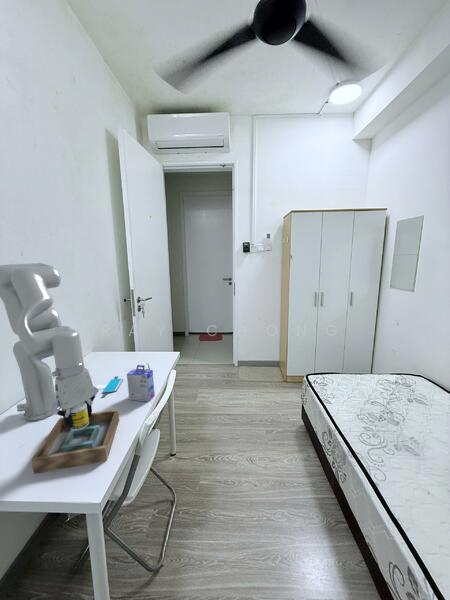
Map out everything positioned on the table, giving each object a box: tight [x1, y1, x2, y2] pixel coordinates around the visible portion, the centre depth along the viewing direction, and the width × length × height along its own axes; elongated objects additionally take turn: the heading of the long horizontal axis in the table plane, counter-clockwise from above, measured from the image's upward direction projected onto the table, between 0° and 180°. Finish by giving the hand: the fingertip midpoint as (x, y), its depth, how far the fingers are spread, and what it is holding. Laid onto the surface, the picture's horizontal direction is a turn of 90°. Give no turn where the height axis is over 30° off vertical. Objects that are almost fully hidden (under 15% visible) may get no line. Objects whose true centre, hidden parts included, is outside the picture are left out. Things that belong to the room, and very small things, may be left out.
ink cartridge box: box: [126, 364, 156, 402], centre depth 112 cm, size 10×6×14 cm, turn 78°
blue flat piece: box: [95, 376, 124, 399], centre depth 124 cm, size 20×12×2 cm, turn 5°
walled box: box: [31, 409, 120, 475], centre depth 86 cm, size 20×20×4 cm
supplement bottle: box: [69, 402, 89, 431], centre depth 84 cm, size 5×5×10 cm
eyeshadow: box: [144, 361, 151, 370], centre depth 138 cm, size 4×5×5 cm
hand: (79, 420), depth 85 cm, fingers closed on supplement bottle, 5 cm apart
